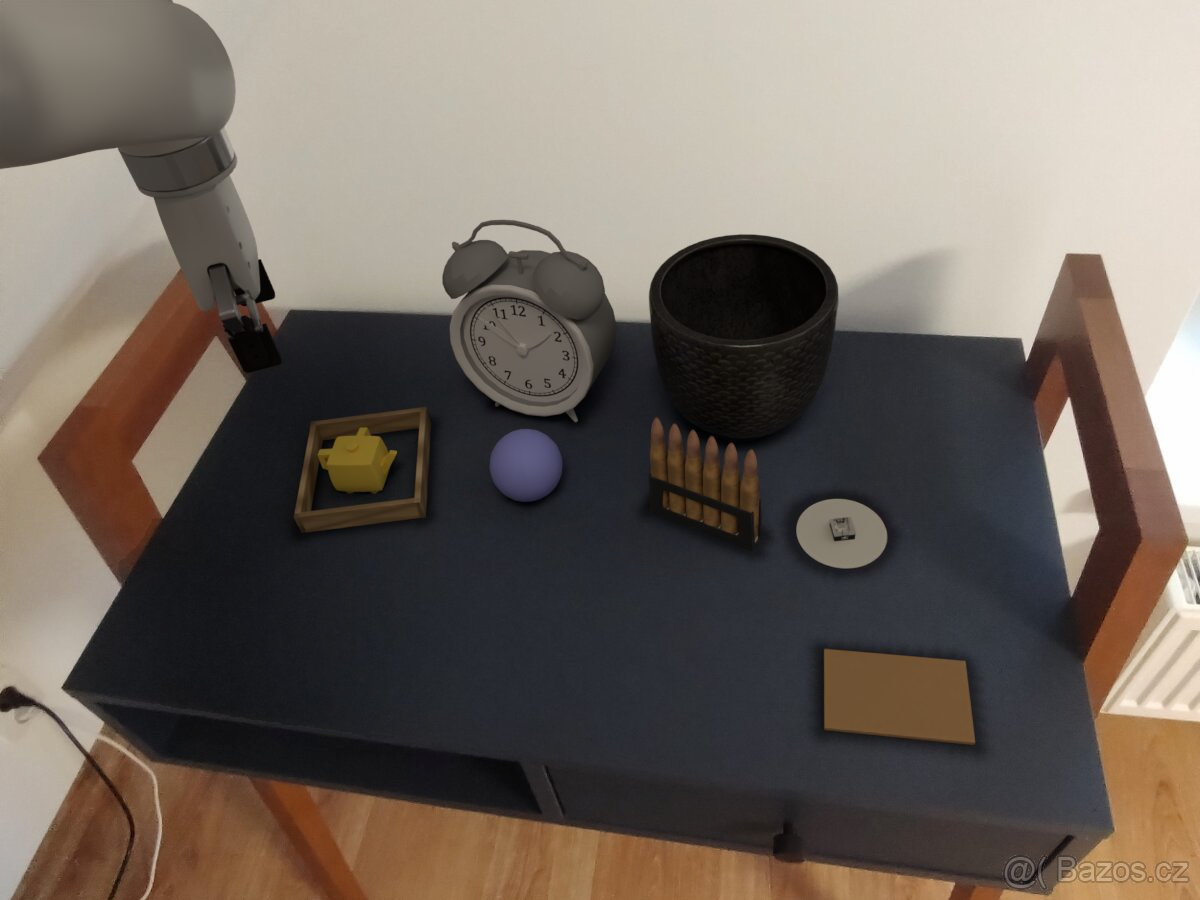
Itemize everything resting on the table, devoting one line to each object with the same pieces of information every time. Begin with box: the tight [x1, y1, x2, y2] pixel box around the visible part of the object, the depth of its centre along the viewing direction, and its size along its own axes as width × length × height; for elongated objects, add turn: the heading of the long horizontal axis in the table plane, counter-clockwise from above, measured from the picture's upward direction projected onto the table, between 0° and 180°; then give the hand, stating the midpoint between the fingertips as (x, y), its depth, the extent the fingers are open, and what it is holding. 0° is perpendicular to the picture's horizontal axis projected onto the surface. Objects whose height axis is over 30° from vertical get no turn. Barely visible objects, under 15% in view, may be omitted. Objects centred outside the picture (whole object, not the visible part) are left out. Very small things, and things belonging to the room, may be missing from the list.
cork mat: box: [823, 648, 976, 746], centre depth 73 cm, size 7×11×1 cm, turn 81°
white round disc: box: [795, 498, 888, 569], centre depth 84 cm, size 8×8×1 cm
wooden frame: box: [293, 406, 432, 534], centre depth 94 cm, size 13×12×2 cm
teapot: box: [318, 428, 398, 494], centre depth 93 cm, size 8×6×5 cm
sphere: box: [489, 428, 563, 503], centre depth 89 cm, size 7×7×7 cm
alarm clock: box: [441, 219, 618, 423], centre depth 93 cm, size 16×9×22 cm, turn 69°
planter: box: [648, 233, 840, 443], centre depth 91 cm, size 17×17×16 cm
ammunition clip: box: [648, 416, 763, 552], centre depth 83 cm, size 11×2×12 cm, turn 60°
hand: (261, 332), depth 82 cm, fingers open, 9 cm apart
